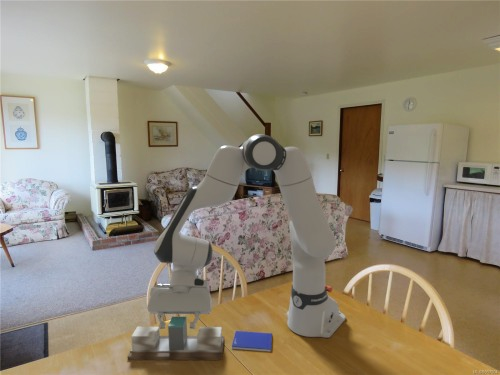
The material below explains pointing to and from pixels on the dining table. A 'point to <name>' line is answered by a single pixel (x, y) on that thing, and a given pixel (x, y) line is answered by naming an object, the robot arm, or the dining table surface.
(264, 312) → the dining table surface
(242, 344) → the hard drive
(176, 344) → the block
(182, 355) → the board
